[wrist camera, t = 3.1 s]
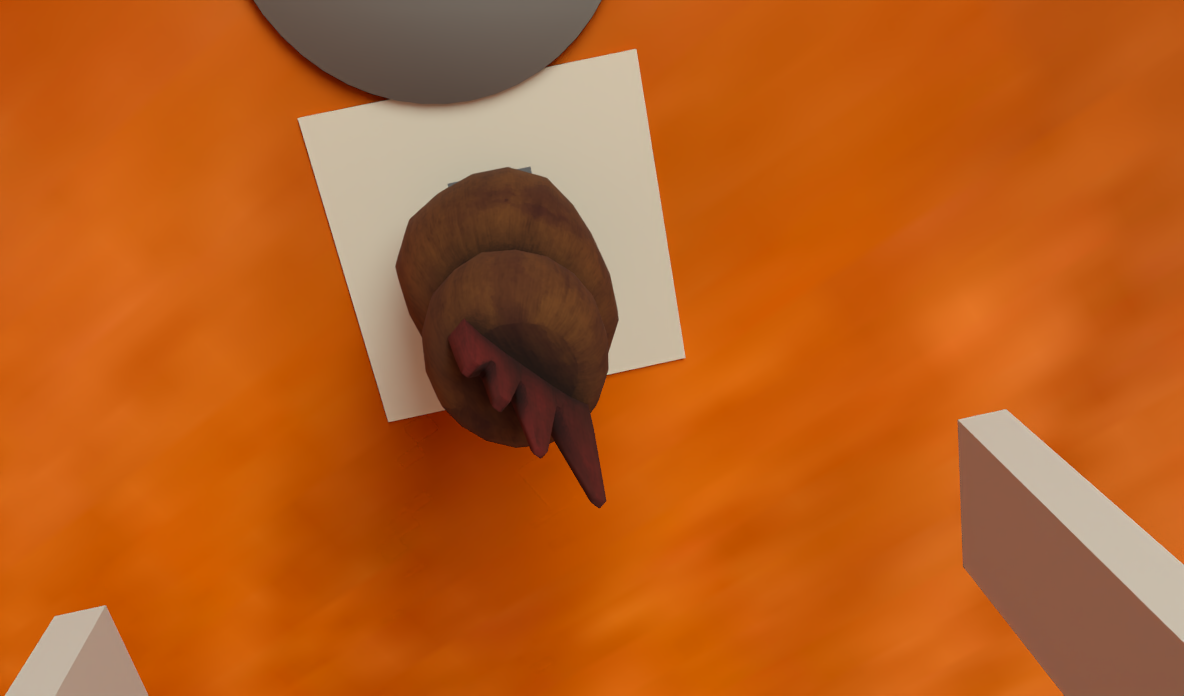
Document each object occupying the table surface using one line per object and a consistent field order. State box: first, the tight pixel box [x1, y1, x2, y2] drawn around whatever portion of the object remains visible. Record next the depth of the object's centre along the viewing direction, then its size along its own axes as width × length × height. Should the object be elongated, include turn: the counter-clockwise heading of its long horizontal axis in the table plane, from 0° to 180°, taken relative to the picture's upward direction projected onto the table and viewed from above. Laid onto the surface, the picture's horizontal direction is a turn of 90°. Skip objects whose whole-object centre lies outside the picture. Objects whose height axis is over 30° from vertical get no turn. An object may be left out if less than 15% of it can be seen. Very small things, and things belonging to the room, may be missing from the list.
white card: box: [298, 49, 685, 422], centre depth 33 cm, size 11×11×1 cm
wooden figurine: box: [395, 167, 619, 508], centre depth 26 cm, size 7×6×15 cm
